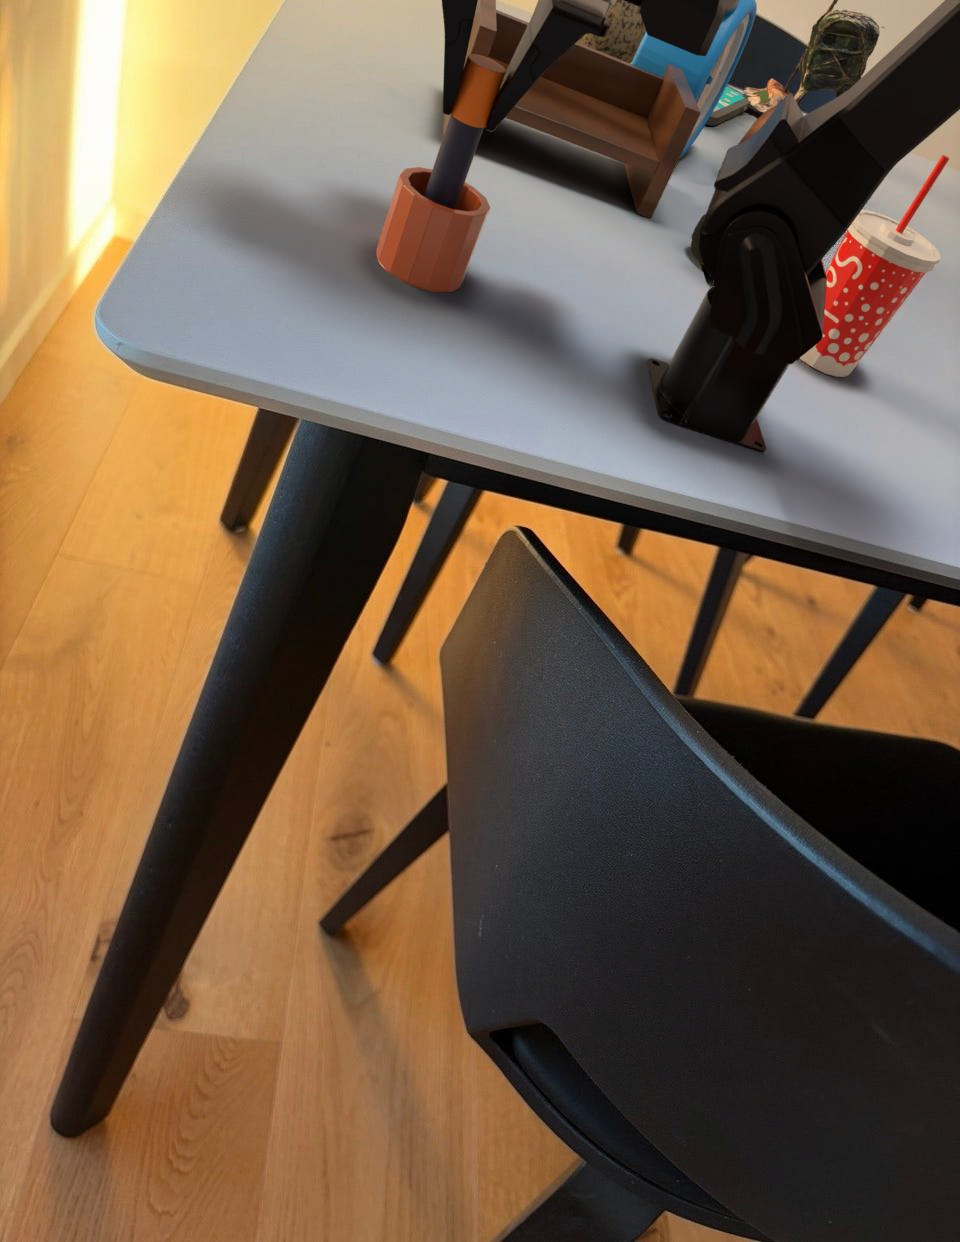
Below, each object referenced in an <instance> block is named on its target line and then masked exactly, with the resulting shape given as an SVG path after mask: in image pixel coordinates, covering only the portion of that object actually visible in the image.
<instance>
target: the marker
mask: <svg viewBox="0 0 960 1242" xmlns="http://www.w3.org/2000/svg"><path fill="white" fill-rule="evenodd" d="M505 72H506V70H505V68H504V67H503V66H502V65H500V64H499V63H497V62H496V61H494V60H492V59H490V58H487V57H485V56H482V55H478V54H469V55H468V57H467V60H466V63H465V66H464V69H463V74H462V79H461V84H460V88H459V92H458V95H457V97H456V100H455V103H454V106H453V108H452V111H451V115H450V118H449V121H448V124H447V127H446V130H445V134H444V137H443V136H442V137H443V140H441V143H440V146H439V149H438V152H437V155H436V157H435V161H434V164H433V166H432V173H431V176H430V179H429V182H428V185H427V188H426V191H425V194H424V197H426V198H428V199H429V200H431V201H433V202H435V203H437V204H439V205H442V206H445V207H448V208H451V209H454V210H455V208H456V206H457V203H458V200H459V197H460V194H461V191H462V188H463V186H464V183H465V182H466V180H467V177H468V174H469V171H470V169H471V166H472V164H473V160H474V158H475V154H476V151H477V149H478V146H479V143H480V139H481V137H482V134H483V132H484V129H485V128H486V126H487V123H488V120H489V117H490V114H491V111H492V109H493V106H494V103H495V100H496V98H497V95H498V92H499V89H500V87H501V84H502V81H503V78H504V75H505Z"/></svg>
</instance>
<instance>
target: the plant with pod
mask: <svg viewBox="0 0 960 1242" xmlns="http://www.w3.org/2000/svg"><path fill="white" fill-rule="evenodd" d="M838 2H839V0H833V1H832V3H831V4H830V5H829V7H828V9H827V10H826V12H824V13H823V14H821V16H820V17H819V18H818V19H817V20H816V23H814V24H813V25H812V27H811V33H810V36H809V40H808V43H807V46H806V49H805V51H804V52H803V55H802V57H800V60H799V61H798V63H797V64H796V66H795V69H794V70H793V72H792V73H791V75H790V76H789V78H788V81H787V83H786V84H785V86H784V85H783V84H781V83H780V82H779V81H777V80H775V79H774V78H770V79H768V80H767V84H766V86H765V87H764V88H755V87H749V86H748V85H746V84H744V83H742V85H743V86H742V89H743V91H742V94H744V96H745V98H746V99H747V100H749V101H751V103H750V107H752V108H754V109H756V111H758V112H761V113H764V112H766V111H767V110H769V109H770V108H772V107H774V106H777V105H779V104H780V102H781V101H782V100H783V99H784V98H785V96H786V95H788V94H791V95H792V96H793V97H794V99H795V101H796V103H797V105H798V106H799V104H800V102H801V101H802V100H803V99H804V97H805V96H806V95H807V94H808V93H809V92H819V91H830V92H832V93H836V97H835V98H837V97H839V96H840V95H842V94H843V93H844V92H846V91H848V90H849V89H850V88H851V87H852V86H853V85H854V84H856V83H857V82H858V81H859V80H860V79H861V78H862V77H863V76H864V73H865V71H866V70H867V69H866V68H867V63H868V61H869V60H868V59H869V58H870V56H871V55H872V54H873V52H874V51H875V48H876V46H877V44H878V40H879V37H880V34H881V33H880V26H879V24H878V23H877V22H876V20H875V19H874V18H873V17H872V16H871V15H869V14H866V13H863V12H857V11H854V10H852V11H851V10H847V9H842V10H839V9H835V10H834V7H835V6H836V5H837V3H838ZM881 29H885V27H884V26H881ZM798 72H799V79H800V80H799V81H800V83H799V88H798V89H797V91H796V93H795V94H793V93H792V92H791V91H790V90H789V89H788V85H789V83H790V82H791V80H793V78H794V77H795V75H796V74H797V73H798ZM744 96H743V97H744ZM744 100H745V99H744ZM748 103H749V102H748Z"/></svg>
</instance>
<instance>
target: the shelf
mask: <svg viewBox="0 0 960 1242" xmlns="http://www.w3.org/2000/svg"><path fill="white" fill-rule="evenodd" d="M496 3H497V0H478V2H477V7H476V12H475V16H474V21H473V26H472V31H471V36H470V40H469V45H468V50H467V55H466V60H467V57H468V55H469V54H478V55H482V56H485V57H487V58H490V59H492V60H494V61H496V62H497V63H499V64H500V65H502V66H503V67H504V68H505V70H507V68H508V66H509V64H510V62H511V60H512V58H513V55H514V53H515V51H516V49H517V47H518V45H519V43H520V41H521V39H522V36H523V34H524V32H525V30H526V28H527V26H528V24H529V22H528V21H526V20H523V19H521V18H518V17H516V16H513V15H510V14H508V13H505V12H503V11H501V10H498V9H497V4H496ZM466 60H465V63H466ZM464 66H465V64H464ZM700 114H701V112H700V110H699V107H698V105H697V103H696V100H695V98H694V96H693V93H692V91H691V89H690V86H689V84H688V82H687V79H686V77H685V75H684V72H683V70H682V69H681V68H678V67H676V66H673V65H671V64H668V65H667V68H666V70H665V72H664V74H663V77H662V76H659V75H657V74H655V73H652V72H650V71H647V70H645V69H642V68H640V67H637V66H635V65H632V64H631V63H627V62H625V61H622V60H620V59H617V58H615V57H612V56H610V55H607V54H605V53H602V52H600V51H598V50H595V49H593V48H590V47H588V46H585V45H583V44H580V43H578V42H576V43H575V44H574V45H573V46H572V47H571V48H570V49H569V50H567V51H566V52H565V53H564V54H563V55H562V56H561V57H560V58H559V59H558V60H556V61H555V62H554V63H553V64H552V65H551V66H550V67H549V68H548V69H547V70H546V71H545V72H544V73H543V74H542V75H541V76H540V77H539V78H538V79H537V81H536V82H535V83H534V84H533V85H532V86H531V88H530V89H529V90H528V91H527V92H526V93H525V95H524V96H523V97H522V98H521V99H520V101H519V102H518V103H517V104H516V105H515V106H514V108H513V109H512V110H511V111H510V112H509V114H508V115H507V116H506V117H505V118H504V119H507V120H510V121H512V122H515V123H518V124H520V125H523V126H526V127H529V128H531V129H534V130H536V131H539V132H541V133H543V134H544V133H545V134H546V135H550V136H552V137H554V138H556V139H560V140H563V141H564V142H567V143H570V144H573V145H576V146H578V147H581V148H583V149H586V150H589V151H590V152H591V151H592V152H594V153H596V154H599V155H601V156H603V157H606V158H609V159H612V160H615V161H618V162H620V163H623V164H624V168H625V172H626V177H627V181H628V184H629V188H630V192H631V196H632V200H633V204H634V208H635V212H636V214H638V215H640V216H644V217H646V218H649V219H652V218H653V215H654V214H655V211H656V209H657V207H658V205H659V203H660V200H661V198H662V197H663V194H664V192H665V190H666V189H667V185H668V184H669V182H670V179H671V177H672V175H673V173H674V171H675V169H676V166H677V164H678V162H679V160H680V158H681V157H680V156H681V154H682V152H683V150H684V148H685V145H686V143H687V141H688V139H689V137H690V135H691V133H692V131H693V129H694V126H695V124H696V122H697V120H698V118H699V116H700ZM450 115H451V114H450ZM450 115H446V114H443V127H442V138H441V139H442V140H443V137H444V134H445V130H446V127H447V124H448V121H449V118H450ZM442 140H441V141H442Z"/></svg>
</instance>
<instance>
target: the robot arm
mask: <svg viewBox="0 0 960 1242" xmlns="http://www.w3.org/2000/svg"><path fill="white" fill-rule="evenodd" d="M624 1H626V2H629V3H631V4H634V5H636V6H638V8H639V11H640V14H641V17H642V20H643V23H644V26H645V29H646V32H647V35H649V36H651V37H654V38H656V39H659V40H661V41H663V42H666V43H668V44H671V45H673V46H675V47H678V48H680V49H683V50H685V51H688V52H690V53H692V54H695V55H698V56H706V55H707V53H708V51H709V49H710V46H711V44H712V42H713V40H714V38H715V36H716V33H717V31H718V29H719V27H720V25H721V23H722V20H723V16H724V12H725V8H726V2H725V0H624ZM477 2H478V0H441V8H442V16H443V17H442V18H443V27H444V28H443V30H444V46H443V47H444V49H443V50H444V51H443V52H444V53H443V81H442V83H443V84H442V89H443V90H442V114H443V115H444V114H446V115H450V114H451V111H452V108H453V106H454V103H455V100H456V97H457V95H458V92H459V88H460V84H461V79H462V74H463V69H464V64H465V60H466V55H467V50H468V45H469V40H470V36H471V31H472V26H473V21H474V16H475V12H476V7H477ZM616 2H617V0H537V2H536V5H535V8H534V11H533V13H532V15H531V17H530V19H529V22H528V23H529V24H528V26H527V28H526V30H525V32H524V34H523V36H522V39H521V41H520V43H519V45H518V47H517V49H516V51H515V53H514V55H513V58H512V60H511V62H510V64H509V66H508V68H507V70H506V72H505V75H504V78H503V81H502V84H501V87H500V89H499V92H498V95H497V98H496V100H495V103H494V106H493V109H492V111H491V114H490V117H489V120H488V123H487V126H486V127H485V130H486V131H488V132H490V133H492V132H495V130H496V129H497V128H498V127H499V126H500V124H501V123H502V122H503V121H504V119H506V118H505V117H506V116H507V115H508V114H509V112H510V111H511V110H512V109H513V108H514V106H515V105H516V104H517V103H518V102H519V101H520V99H521V98H522V97H523V96H524V95H525V93H526V92H527V91H528V90H529V89H530V88H531V86H532V85H533V84H534V83H535V82H536V81H537V79H538V78H539V77H540V76H541V75H542V74H543V73H544V72H545V71H546V70H547V69H548V68H549V67H550V66H551V65H552V64H553V63H554V62H555V61H556V60H558V59H559V58H560V57H561V56H562V55H563V54H564V53H565V52H566V51H567V50H569V49H570V48H571V47H572V46H573V45H574V44H575V43H576V42H577V41H578V40H580V39H581V38H582V37H583V36H584V35H585V34H589V33H590V34H593V35H595V36H598V37H606V36H607V33H608V31H609V29H610V24H609V21H608V18H607V15H608V12H609V10H610V7H611V5H612V6H615V5H616ZM959 111H960V0H944V1H943V2H941V3H940V4H939V5H938V6H937V7H936V8H935V9H934V10H933V11H932V12H931V13H930V14H928V16H927V17H925V18H924V19H923V20H922V21H920V22H919V24H918V25H917V26H915V28H913V29H912V30H911V31H910V32H909V33H908V34H907V35H906V36H905V37H903V38H902V40H900V42H898V43H897V44H896V45H895V46H894V47H893V48H892V49H891V50H890V51H889V52H887V54H886V55H884V56H883V57H882V58H881V59H880V60H879V61H878V62H877V63H876V64H875V65H873V67H871V69H869V70H868V71H867V72H866V73H865V74H863V75H862V77H861V79H860V80H859V81H858V82H857V83H856V84H854V85H853V86H852V87H851V88H850V89H849V90H848V91H844V92H843V94H842V95H840V96H839V97H837V98H836V97H835V98H834V99H832V100H830V101H828V102H826V103H824V104H823V105H821V106H819V107H818V108H816V109H814V110H812V111H810V112H808V113H807V114H805V115H804V113H803V111H802V109H801V108H800V106H799V104H798V105H797V103H796V101H795V99H794V97H793V96H792V95H791V94H788V95H786V96H785V98H784V99H783V100H782V101H781V102H780V104H779V105H778V106H777V107H776V109H775V110H774V111H773V113H772V114H771V115H770V117H769V118H768V119H767V121H766V122H765V123H764V125H763V126H762V127H761V128H760V129H759V130H758V131H757V132H756V133H755V134H754V135H752V136H751V137H750V138H748V139H747V140H746V141H744V142H742V143H740V144H739V143H737V144H736V145H733V146H731V147H729V148H728V149H727V151H726V153H725V156H724V157H723V161H722V163H721V166H720V169H719V171H718V174H717V176H716V179H715V181H714V186H713V187H714V188H715V189H714V191H713V194H712V197H711V200H710V202H709V205H708V207H707V209H706V212H705V214H706V215H705V214H704V215H705V217H704V220H703V223H702V225H701V229H700V241H699V251H700V255H701V259H702V262H703V264H702V266H703V268H704V269H705V271H706V273H707V274H708V276H709V277H710V279H711V280H712V282H713V286H712V287H710V288H709V289H708V290H707V291H706V294H705V295H704V297H703V299H702V301H701V303H700V305H699V306H698V309H697V310H696V312H695V314H694V316H693V318H692V319H691V322H690V323H689V325H688V327H687V328H686V331H685V333H684V335H683V336H682V338H681V340H680V342H679V344H678V346H677V348H676V349H675V352H674V354H673V356H672V357H671V358H670V359H671V360H670V361H669V363H668V362H664V361H662V360H659V359H657V358H653V357H651V358H648V359H647V361H646V367H647V371H648V375H649V380H650V384H651V385H650V386H651V389H652V393H653V398H654V399H653V400H654V403H655V407H656V412H657V416H658V418H660V420H662V421H664V422H665V423H669V424H672V425H675V426H677V427H681V428H683V429H687V430H689V431H693V432H696V433H699V434H702V435H705V436H709V437H712V438H715V439H717V440H721V441H723V442H727V443H731V444H733V445H736V446H739V447H742V448H745V449H748V450H751V451H755V452H757V453H761V454H762V455H764V454H765V452H766V450H767V444H766V442H765V439H764V436H763V433H762V430H761V427H760V424H759V421H758V417H759V415H760V413H761V412H762V411H763V409H764V407H765V405H766V404H767V402H768V400H769V399H770V398H771V396H772V394H773V392H774V391H775V389H776V388H777V386H778V384H779V383H780V381H781V380H782V378H783V376H784V374H785V373H786V371H787V369H788V368H789V366H790V365H792V364H794V363H795V362H797V361H798V360H800V357H802V356H803V355H804V354H805V353H806V352H808V351H809V350H810V349H811V348H813V347H814V346H815V345H816V344H818V343H819V342H820V341H821V339H822V336H823V324H824V311H825V299H826V286H827V276H826V269H825V266H824V262H823V259H824V257H825V256H826V255H827V254H828V253H829V251H830V250H831V249H832V248H833V247H834V246H835V245H836V244H837V243H838V241H839V240H840V239H841V238H842V237H843V236H844V235H845V234H846V232H847V229H848V228H849V227H850V225H851V224H852V222H853V221H854V220H855V218H856V217H857V216H858V214H859V213H860V211H861V210H862V209H863V210H864V208H865V206H866V205H867V203H868V202H869V200H870V199H871V198H872V197H873V195H874V194H875V192H876V191H877V189H879V187H880V186H881V184H882V183H883V181H884V180H885V178H886V177H887V176H888V174H889V173H890V172H891V171H892V170H893V168H894V167H896V166H897V164H898V163H899V162H900V161H902V160H903V159H904V158H905V157H906V156H907V155H909V154H910V153H911V152H912V151H913V150H914V149H916V148H917V147H918V146H919V145H920V144H921V143H922V142H924V141H925V140H926V139H928V137H929V136H931V135H932V134H933V133H934V132H935V131H937V130H938V129H939V128H940V127H941V126H942V125H944V124H945V123H946V122H947V121H948V120H949V119H951V117H953V116H954V115H955V114H956V113H958V112H959Z"/></svg>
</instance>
